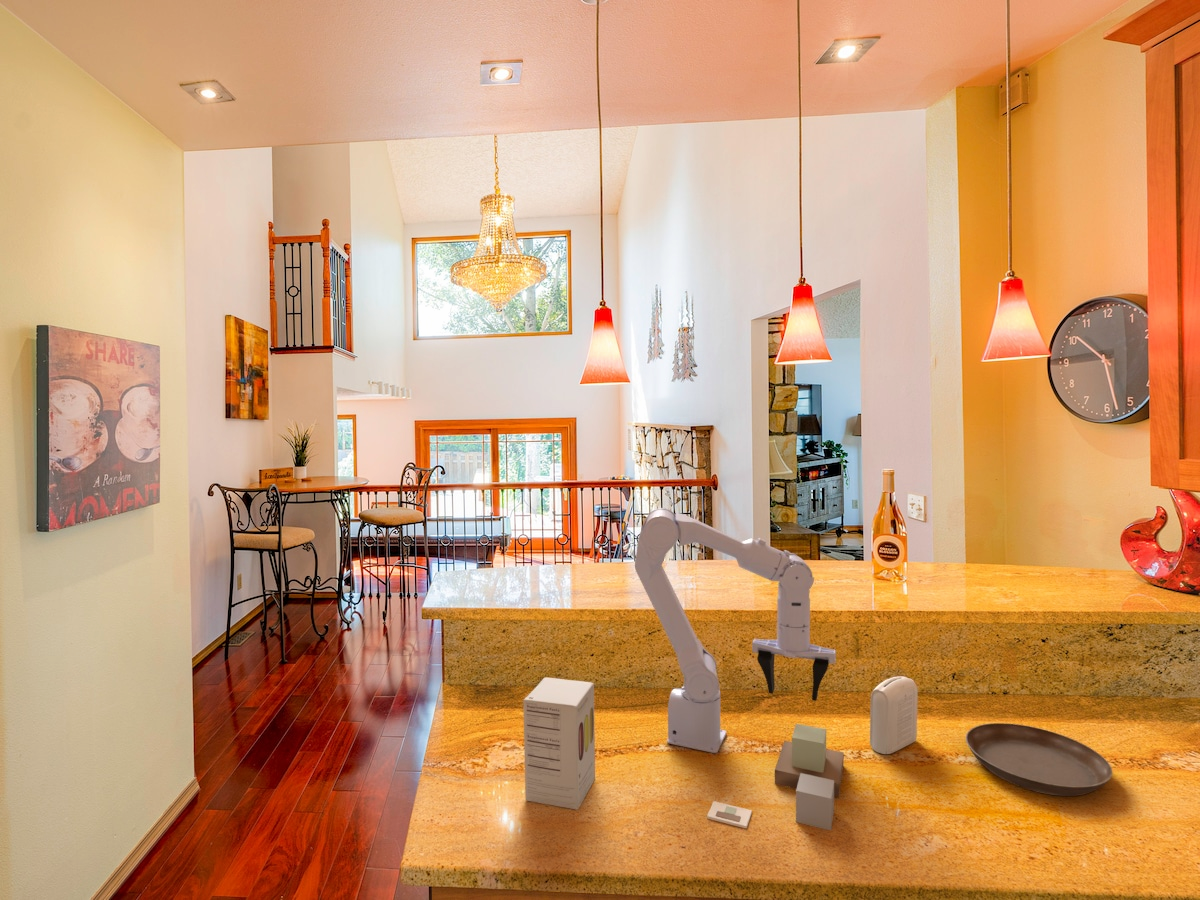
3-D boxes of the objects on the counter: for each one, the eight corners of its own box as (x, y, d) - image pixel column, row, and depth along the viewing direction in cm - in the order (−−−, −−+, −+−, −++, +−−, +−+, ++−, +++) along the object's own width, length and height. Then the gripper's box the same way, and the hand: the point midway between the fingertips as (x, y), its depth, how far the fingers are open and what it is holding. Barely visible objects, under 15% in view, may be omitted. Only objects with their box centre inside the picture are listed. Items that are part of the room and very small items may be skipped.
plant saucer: (955, 730, 123) (955, 713, 123) (1084, 748, 116) (1084, 730, 116) (979, 792, 104) (979, 772, 103) (1135, 818, 97) (1136, 797, 97)
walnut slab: (774, 787, 107) (774, 769, 106) (784, 756, 116) (784, 740, 115) (838, 801, 102) (838, 783, 102) (843, 769, 111) (843, 752, 111)
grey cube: (795, 822, 97) (796, 790, 96) (800, 803, 101) (800, 773, 101) (830, 831, 95) (831, 798, 94) (833, 811, 99) (834, 780, 99)
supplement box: (578, 811, 100) (576, 707, 99) (523, 802, 103) (521, 700, 101) (596, 777, 109) (595, 681, 108) (546, 769, 112) (543, 675, 111)
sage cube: (791, 766, 107) (791, 737, 107) (795, 751, 112) (795, 723, 111) (823, 773, 105) (823, 743, 105) (825, 757, 110) (826, 729, 109)
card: (707, 818, 98) (707, 815, 98) (713, 803, 101) (713, 800, 101) (746, 828, 95) (746, 825, 95) (751, 812, 99) (751, 809, 99)
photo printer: (898, 731, 123) (899, 668, 122) (920, 741, 119) (921, 676, 118) (865, 748, 117) (866, 682, 116) (887, 758, 113) (888, 690, 113)
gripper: (748, 624, 116) (748, 697, 117) (833, 635, 110) (832, 711, 111) (756, 612, 123) (756, 681, 124) (836, 622, 117) (836, 694, 118)
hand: (792, 694), depth 118 cm, fingers open, 7 cm apart
